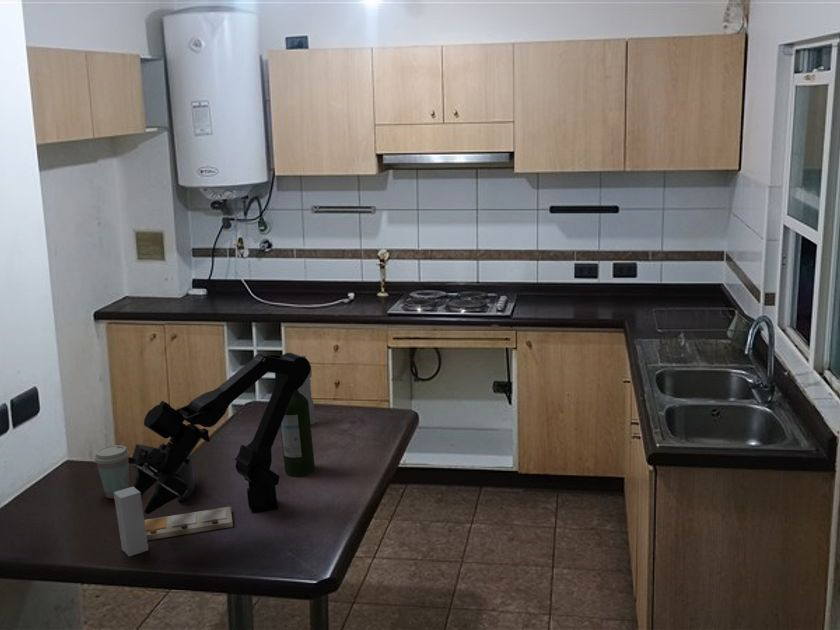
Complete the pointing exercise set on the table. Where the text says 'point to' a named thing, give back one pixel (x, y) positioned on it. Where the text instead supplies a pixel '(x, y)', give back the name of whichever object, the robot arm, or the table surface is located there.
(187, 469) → the leaning round-cornered charcoal block
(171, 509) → the table surface
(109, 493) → the coffee cup
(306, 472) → the wine bottle
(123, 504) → the block
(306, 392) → the tall pale column
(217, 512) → the switch board
